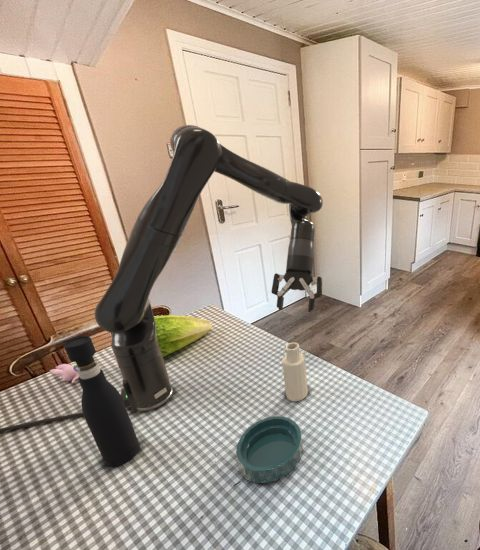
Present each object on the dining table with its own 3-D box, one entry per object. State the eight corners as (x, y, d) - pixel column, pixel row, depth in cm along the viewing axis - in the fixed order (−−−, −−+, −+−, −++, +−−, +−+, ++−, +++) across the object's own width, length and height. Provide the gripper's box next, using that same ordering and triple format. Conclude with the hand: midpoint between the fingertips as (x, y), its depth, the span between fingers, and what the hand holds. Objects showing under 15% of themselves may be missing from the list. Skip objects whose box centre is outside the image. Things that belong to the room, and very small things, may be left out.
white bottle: (290, 404, 82) (285, 355, 76) (283, 391, 87) (277, 344, 81) (311, 395, 85) (307, 348, 79) (302, 383, 90) (298, 337, 84)
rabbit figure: (108, 378, 93) (65, 366, 95) (104, 363, 91) (61, 351, 92) (87, 393, 87) (42, 380, 89) (83, 377, 85) (37, 364, 87)
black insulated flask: (121, 470, 65) (72, 353, 54) (96, 464, 66) (44, 349, 55) (146, 444, 71) (107, 334, 60) (124, 439, 72) (81, 330, 61)
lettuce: (227, 322, 111) (206, 296, 115) (157, 344, 91) (136, 310, 95) (215, 346, 117) (196, 320, 121) (148, 371, 97) (128, 339, 102)
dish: (248, 499, 60) (245, 484, 58) (233, 447, 70) (230, 433, 68) (312, 463, 67) (310, 448, 65) (289, 421, 77) (288, 407, 75)
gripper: (272, 251, 86) (266, 309, 84) (323, 255, 86) (318, 312, 84) (279, 256, 93) (274, 309, 91) (326, 260, 93) (321, 312, 91)
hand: (295, 311), depth 87 cm, fingers open, 8 cm apart
